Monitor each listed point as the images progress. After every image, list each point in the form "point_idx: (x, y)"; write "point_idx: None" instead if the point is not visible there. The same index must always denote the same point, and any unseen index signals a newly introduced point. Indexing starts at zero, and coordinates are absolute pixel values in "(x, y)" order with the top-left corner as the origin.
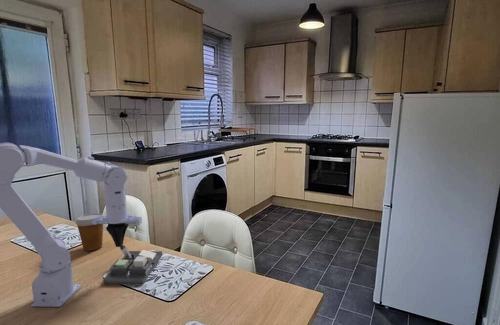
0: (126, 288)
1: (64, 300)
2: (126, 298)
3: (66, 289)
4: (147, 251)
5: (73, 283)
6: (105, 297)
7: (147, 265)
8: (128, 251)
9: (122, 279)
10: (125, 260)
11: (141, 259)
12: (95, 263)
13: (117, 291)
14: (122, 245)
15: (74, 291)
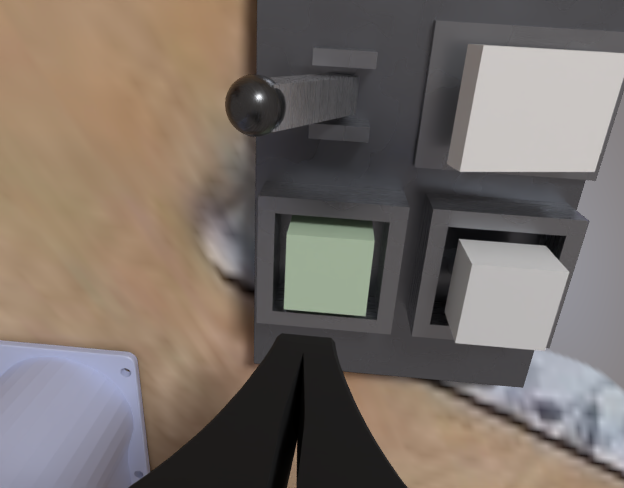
0: (415, 387)
1: (142, 466)
2: (441, 459)
3: (114, 472)
4: (537, 63)
5: (103, 409)
6: None
7: (560, 308)
8: (322, 84)
9: (381, 369)
10: (352, 251)
11: (526, 323)
12: (31, 65)
13: (372, 407)
14: (253, 116)
15: (140, 411)
